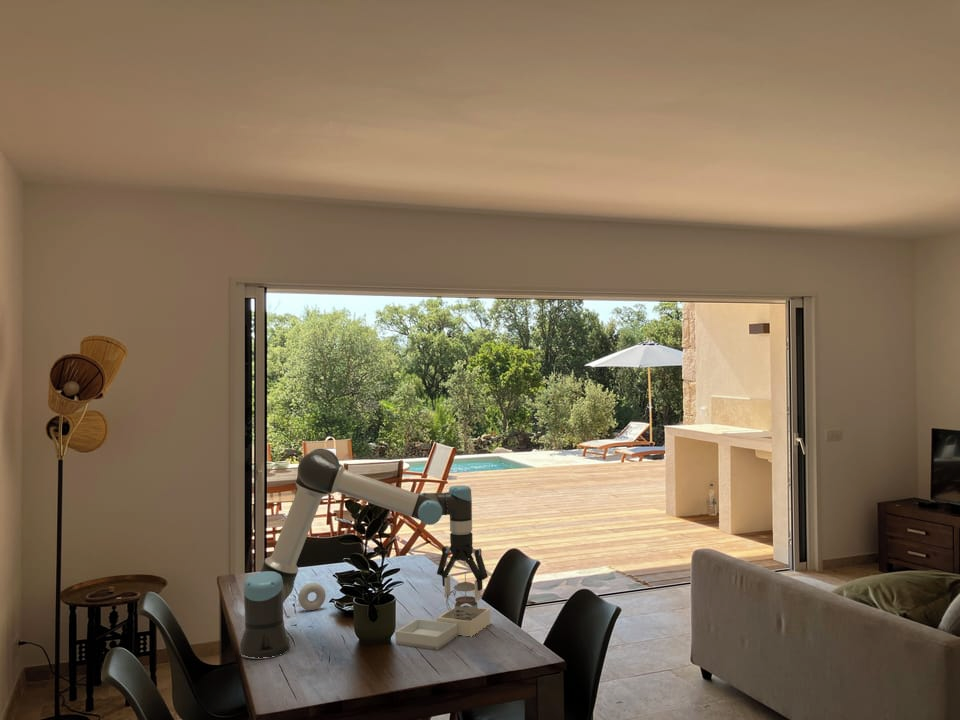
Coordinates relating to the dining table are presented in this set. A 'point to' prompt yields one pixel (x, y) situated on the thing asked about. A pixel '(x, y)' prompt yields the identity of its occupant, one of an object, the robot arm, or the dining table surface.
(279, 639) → the robot arm
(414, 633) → the tray
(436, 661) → the dining table surface
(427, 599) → the dining table surface
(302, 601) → the donut
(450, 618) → the cream open box
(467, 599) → the french press
